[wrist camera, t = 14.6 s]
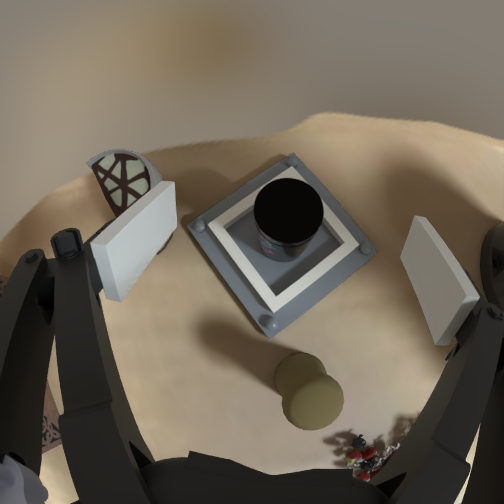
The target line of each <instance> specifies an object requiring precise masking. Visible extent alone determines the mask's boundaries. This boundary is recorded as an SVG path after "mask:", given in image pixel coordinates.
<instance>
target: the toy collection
mask: <svg viewBox="0 0 504 504" xmlns="http://www.w3.org/2000/svg"><path fill="white" fill-rule="evenodd" d="M362 436H363V435H361V434H360V435H359V437H357V438H354V440H353V442H352V445H351V446H352V447H353V448H354V449H355V448H359V447H364V445H366V441H365V440H364V439H363V438H360V437H362ZM399 445H400V444H399V442H398V444H397V447H396V448H395V447H394V446H391V447H392V448H393V449H394V451H393V452H392V454H390V455H389V453H390V451H389V446H388V448H387V450H386V452H388V454H387V455H386V456H388V455H389V457H387V458H386V457H383V459H385V460H384V462H383V463H382V462H381V458H380V459H379V460H377V459H378V458H377V459H375V458H376V456H377V454H376V453H377V452H378V451H377V452H376V447H369V448H368V449H367V450H366V451H363V452H362V454H361V453H360V452H359V451H356V449H355V450H354V451H351V452H350V453H348V454H347V457H346V459H345V461H347V462H348V464H347V467H349V469H351V466H349V464H354V466H355V467H356V465H357V467H359V463H360V462H362V461H363V462H362V464H361V466H360V468H361V469H362V471H364V470H369V469H372V467H373V466H374V467H376V466H377V465H379V463H380V465H379V466H380V467H379V468H378V469H377V470H374V469H373V470H372V471H374V472H371V473H370V470H369V471H368V473H365V472H362V473H360V474H358V475H357V476H356V477H357V478H360V479H363V480H365V481H367V482H368V481H369V480H370V479H371V478H372V477H373V476H375V475H376V474H377V473H378V472H379V471H380V470H381V469H382V468H383V467H384V466H385V465H386V464H387V462H388V461H389V460H390V458H391V457H392V456H393V454H394V453H395V452H396V450H397V449H398V447H399ZM378 456H379V455H378ZM354 461H355V462H358V463H357V464H356V463H355V462H354ZM374 461H377V462H378V463H377V464H376V465H374Z"/></svg>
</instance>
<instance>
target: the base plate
mask: <svg viewBox="0 0 504 504" xmlns="http://www.w3.org/2000/svg"><path fill="white" fill-rule="evenodd" d="M280 178H295V179H299V180H302V181H304V182H306V183H307V184H309V185H310V186H312V187H313V188H314V189H315V190H316V192H317V193H318V194H319V196H320V198H321V200H322V203H323V208H324V216H323V221H322V223H321V226H320V227H319V230H318V232H317V233H316V235H315V236H314V237H313V239H312V241H311V242H310V244H309V246H308V247H307V249H306V251H305V252H304V253H303V255H302V256H300V257H299V258H298V259H296V260H294V261H290V262H277V261H274V260H272V259H270V258H268V257H267V256H266V255H265V254H264V253H263V252H262V250H261V249H260V247H259V244H258V239H257V231H256V224H255V220H254V202H255V199H256V197H257V195H258V193H259V191H260V190H261V189H262V188H263V187H264V186H265V185H266V184H268V183H270V182H271V181H274V180H276V179H280ZM187 227H188V228H189V230H190V231H191V233H192V234H193V236H194V237H195V238H196V240H197V241H198V243H199V244H200V245H201V247H202V248H203V250H204V251H205V253H206V254H207V255H208V257H209V258H210V260H211V261H212V262H213V264H214V265H215V267H216V268H217V269H218V271H219V272H220V274H221V275H222V276H223V278H224V279H225V280H226V282H227V283H228V285H229V286H230V287H231V289H232V290H233V291H234V293H235V294H236V295H237V297H238V298H239V300H240V301H241V302H242V304H243V305H244V306H245V308H246V309H247V310H248V312H249V313H250V314H251V316H252V317H253V318H254V320H255V321H256V322H257V324H258V325H259V326H260V328H261V329H262V330H263V332H264V333H265V334H266V335H267V337H268V338H269V339H271V338H272V337H273V336H275V335H276V334H277V333H279V332H280V331H281V330H283V329H284V328H285V327H287V326H288V325H289V324H291V323H292V322H293V321H295V320H296V319H297V318H299V317H300V316H301V315H302V314H304V313H305V312H306V311H308V310H309V309H310V308H311V307H313V306H314V305H315V304H316V303H318V302H319V301H320V300H321V299H323V298H324V297H325V296H326V295H328V294H329V293H330V292H331V291H332V290H334V289H335V288H336V287H337V286H338V285H340V284H341V283H342V282H343V281H344V280H346V279H347V278H348V277H349V276H350V275H351V274H353V273H354V272H355V271H356V270H357V269H358V268H360V267H361V266H362V265H363V264H364V263H365V262H366V261H368V260H369V259H370V258H371V257H372V256H373V255H374V254H375V253H376V252H378V251H377V249H376V248H375V247H374V245H373V244H372V243H371V241H370V240H369V239H368V238H367V236H366V235H365V234H364V233H363V231H362V230H361V229H360V228H359V226H358V225H357V224H356V223H355V221H354V220H353V219H352V218H351V217H350V215H349V214H348V213H347V212H346V211H345V209H344V208H343V207H342V206H341V205H340V203H339V202H338V201H337V200H336V199H335V198H334V197H333V195H332V194H331V193H330V192H329V191H328V190H327V189H326V187H325V186H324V185H323V184H322V183H321V182H320V181H319V180H318V178H317V177H316V176H315V175H314V174H313V173H312V172H311V171H310V170H309V169H308V168H307V166H306V165H305V164H304V163H303V162H302V161H301V160H300V159H299V158H298V157H297V156H296V155H295V154H294V153H291V154H290V155H288V156H287V157H285V158H283V159H282V160H280V161H279V162H277V163H276V164H274V165H273V166H271V167H270V168H268V169H267V170H265V171H264V172H262V173H261V174H259V175H258V176H256V177H255V178H253V179H252V180H250V181H249V182H247V183H246V184H244V185H243V186H241V187H240V188H238V189H237V190H236V191H234V192H233V193H231V194H230V195H228V196H227V197H226V198H224V199H223V200H221V201H220V202H218V203H217V204H216V205H214V206H213V207H211V208H210V209H209V210H207V211H206V212H204V213H203V214H202V215H200V216H199V217H198V218H196V219H195V220H193V221H192V222H191V223H189V224H188V225H187Z"/></svg>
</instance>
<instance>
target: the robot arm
mask: <svg viewBox="0 0 504 504" xmlns="http://www.w3.org/2000/svg"><path fill="white" fill-rule="evenodd" d="M176 227H177V215H176V199H175V182H171V181H161V182H160V183H159V184H158V185H156V186H155V187H154V188H153V189H151V190H150V191H149V192H148V193H146V194H145V195H144V196H143V197H141V198H140V199H139V200H138V201H137V202H135V203H134V204H133V205H132V206H131V207H129V208H128V209H127V210H126V211H125V212H124V213H123V214H121V215H120V216H119V217H118V218H115V219H113V220H111V221H109V222H107V223H106V224H105V225H104V226H103V227H101V229H99V230H98V231H97V232H96V234H94V235H93V236H91V237H90V238H89V239H88V240H87V241H86V242H85V243H84V244H83V242H82V238H81V234H80V231H79V230H78V229H76V228H68V229H64V230H61V231H59V232H58V233H56V234H55V235H54V236H53V237H52V238H51V240H50V242H51V245H52V248H53V251H54V254H55V257H56V258H52V259H46V257H45V254H44V252H43V250H41V249H34V250H29V251H28V252H26V253H25V254H24V255H23V256H22V257H21V258H20V260H19V261H18V263H17V265H16V267H15V269H14V271H13V273H12V275H11V277H10V279H9V281H8V283H7V285H6V287H5V289H4V291H3V293H2V295H1V297H0V504H45V503H44V501H46V500H47V499H48V491H47V489H46V488H45V487H44V486H43V485H42V482H41V480H40V478H39V474H40V467H41V460H42V430H43V412H44V400H45V391H46V382H47V375H48V368H49V362H50V356H51V350H52V345H53V340H54V335H55V342H56V355H57V365H58V374H59V381H60V388H61V395H62V401H63V406H64V414H62V415H60V416H59V418H58V426H59V432H60V436H61V441H62V445H63V449H64V453H65V456H66V460H67V464H68V467H69V470H70V474H71V477H72V480H73V483H74V486H75V489H76V492H77V494H78V497H79V500H78V501H76V502H73V503H71V504H454V502H455V500H456V498H457V496H458V495H459V493H460V491H461V489H462V487H463V485H464V483H465V481H466V479H467V477H468V475H469V472H470V469H471V466H470V464H469V463H468V462H466V457H467V454H468V452H469V450H470V448H471V445H472V443H473V441H474V438H475V436H476V433H477V430H478V428H479V425H480V430H479V436H478V442H477V447H476V452H475V457H474V461H473V465H472V469H471V473H470V477H469V480H468V484H467V487H466V491H465V494H464V497H463V500H462V503H461V504H504V222H503V223H501V224H499V225H497V226H495V227H493V228H492V229H491V230H490V231H489V232H488V234H487V235H486V237H485V240H484V243H483V247H482V252H481V276H482V282H483V287H484V291H485V294H486V297H487V299H488V301H489V302H485V300H484V298H483V297H482V295H481V293H480V292H479V290H478V288H477V287H476V286H475V283H474V282H473V280H472V279H471V277H470V275H469V274H468V272H467V271H466V270H465V269H464V268H463V267H462V266H461V265H460V264H459V263H458V261H457V260H456V258H455V257H454V255H453V254H452V252H451V251H450V249H449V248H448V247H447V245H446V244H445V242H444V241H443V240H442V238H441V237H440V236H439V234H438V233H437V231H436V230H435V229H434V228H433V226H432V225H431V224H430V222H429V221H428V220H427V219H426V218H425V217H421V216H416V215H414V218H413V221H412V224H411V227H410V230H409V233H408V236H407V239H406V242H405V245H404V247H403V250H402V253H401V255H400V259H401V261H402V263H403V265H404V267H405V270H406V272H407V274H408V276H409V279H410V281H411V283H412V286H413V288H414V291H415V293H416V295H417V298H418V300H419V303H420V305H421V308H422V311H423V313H424V316H425V319H426V321H427V324H428V327H429V330H430V332H431V335H432V338H433V341H434V344H435V346H448V345H449V344H450V342H451V341H452V340H453V338H454V337H455V336H456V339H457V341H458V343H457V344H456V346H455V347H454V348H453V350H452V351H451V352H450V353H449V355H448V356H447V357H446V359H445V360H446V361H447V360H448V359H449V360H448V362H447V364H446V366H445V368H444V370H443V372H442V374H441V377H440V379H439V381H438V383H437V384H436V386H435V388H434V390H433V392H432V394H431V396H430V398H429V399H428V401H427V403H426V405H425V407H424V408H423V410H422V412H421V413H420V415H419V417H418V418H417V420H416V422H415V423H414V425H413V426H412V428H411V430H410V431H409V433H408V434H407V436H406V437H405V439H404V440H403V442H402V443H401V445H400V446H399V447H398V449H397V450H396V452H395V453H394V454H393V456H392V457H391V458H390V460H389V461H388V462H387V464H386V465H385V466H384V467H383V468H382V469H381V470H380V471H379V472H378V473H377V474H376V475H375V476H373V477H372V478H371V479H370V480H369V481H368V482H367V481H365V480H363V479H360V478H357V477H354V476H353V469H311V470H305V471H300V472H294V473H287V474H280V475H269V474H265V473H263V472H260V471H257V470H255V469H252V468H249V467H247V466H244V465H242V464H239V463H237V462H235V461H232V460H230V459H224V458H219V457H215V456H210V455H206V454H201V453H197V452H193V451H190V452H189V455H188V457H178V458H169V459H163V460H160V461H156V462H155V460H154V458H153V456H152V454H151V452H150V450H149V449H148V447H147V445H146V444H145V442H144V440H143V438H142V436H141V434H140V431H139V429H138V426H137V424H136V421H135V419H134V416H133V413H132V411H131V408H130V405H129V403H128V400H127V397H126V394H125V391H124V388H123V385H122V382H121V379H120V376H119V372H118V369H117V366H116V362H115V359H114V355H113V351H112V348H111V344H110V340H109V336H108V332H107V328H106V323H105V319H104V314H103V310H102V305H101V300H100V297H99V292H100V291H101V290H102V289H104V292H105V295H106V298H107V299H110V300H114V301H118V302H122V300H123V299H124V297H125V296H126V295H127V293H128V292H129V290H130V289H131V287H132V286H133V285H134V283H135V282H136V280H137V279H138V278H139V276H140V275H141V274H142V272H143V271H144V269H145V268H146V267H147V265H148V264H149V263H150V261H151V260H152V259H153V257H154V256H155V255H156V253H157V252H158V251H159V249H160V248H161V247H162V245H163V244H164V243H165V241H166V240H167V239H168V238H169V236H170V235H171V234H172V232H173V231H174V230H175V229H176ZM480 422H481V423H480Z"/></svg>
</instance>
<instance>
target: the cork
mask: <svg viewBox="0 0 504 504" xmlns="http://www.w3.org/2000/svg"><path fill="white" fill-rule="evenodd" d="M274 382H275V387H276V389H277V390H278V392H279V394H280V395H281V396H282V407H283V412H284V415H285V416H286V418H287V419H288V421H289V422H291V423H292V424H293V425H295V426H296V427H297V428H300V429H303V430H318V429H322V428H324V427H326V426H328V425H330V424H331V423H332V422H333V421H334V420H335V419H336V418H337V417H338V416H339V414H340V412H341V411H342V408H343V403H344V397H343V391H342V389H341V387H340V385H339V383H338V382H337V381H335V380H334V379H333V378H332V377H331V376H329V375H327V373H326V370H325V367H324V366H323V364H322V362H321V361H320V360H319V359H318V358H316V357H315V356H313V355H310V354H308V353H297V354H293V355H290V356H289V357H287V358H285V359H284V360H283V361H282V362H281V363H280V364H279V365H278V367H277V369H276V371H275V376H274Z"/></svg>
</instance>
